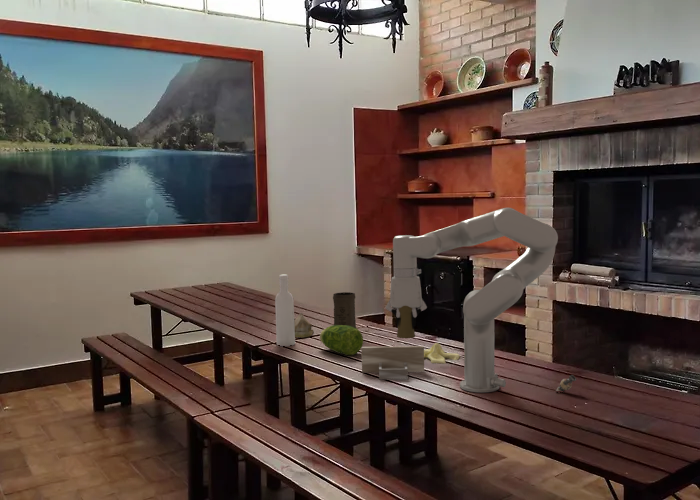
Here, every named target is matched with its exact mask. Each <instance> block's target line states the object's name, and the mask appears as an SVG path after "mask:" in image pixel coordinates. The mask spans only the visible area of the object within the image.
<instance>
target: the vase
mask: <svg viewBox="0 0 700 500" xmlns="http://www.w3.org/2000/svg"><path fill="white" fill-rule="evenodd" d="M573 382H577V378H576V376H575V375H573V374H569V376H568V378H563V379H561V381H560V383H559V386H558V387H557V388H556V389H554V390H555V391H564V390H566V391H567V390H568V391H569V390H570V389H571V388H572V387H573ZM564 392H565V391H564Z"/></svg>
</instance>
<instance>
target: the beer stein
mask: <svg viewBox="0 0 700 500" xmlns="http://www.w3.org/2000/svg"><path fill="white" fill-rule="evenodd" d="M332 300H333V325H347V326H352V327H354V328H357V323H356V320H357V319H356V304H355V303H356V301H355V300H356V293H354V292H347V291H345V292H336V293H333V295H332Z"/></svg>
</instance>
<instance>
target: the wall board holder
mask: <svg viewBox="0 0 700 500" xmlns="http://www.w3.org/2000/svg"><path fill="white" fill-rule="evenodd" d="M424 350H425V346H424V345H422V346H421V345H419V346H418V345H415V346H411V345H410V346H409V345H408V346H406V345H405V346H402V345H401V346H362V347H361V374H363V373H366V374H367V373H378V374H379V375H378V379H379V380H408V373H425V358H424Z"/></svg>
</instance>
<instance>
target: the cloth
mask: <svg viewBox="0 0 700 500" xmlns="http://www.w3.org/2000/svg"><path fill="white" fill-rule="evenodd" d="M460 357H461V356H460V354H459V353H452V352H451V353H450V352H449V353H448V352H445V350H444V349H443V347H442V345H441V344H440V343H437V342H436V343H434V344H432V346H431V347H430V348H425V349H424V359H425V358H427V359H429V360H430V363H431V364H442V365H443V364H444V365H445V364H447V363H446V359H450V360H453V361H457V360H459V359H460Z"/></svg>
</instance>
